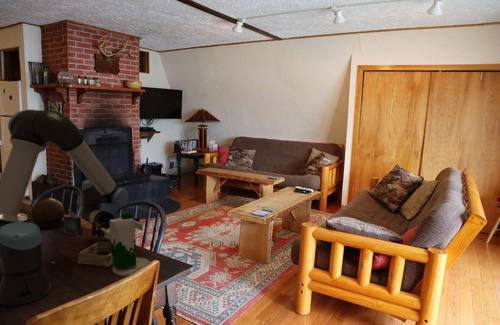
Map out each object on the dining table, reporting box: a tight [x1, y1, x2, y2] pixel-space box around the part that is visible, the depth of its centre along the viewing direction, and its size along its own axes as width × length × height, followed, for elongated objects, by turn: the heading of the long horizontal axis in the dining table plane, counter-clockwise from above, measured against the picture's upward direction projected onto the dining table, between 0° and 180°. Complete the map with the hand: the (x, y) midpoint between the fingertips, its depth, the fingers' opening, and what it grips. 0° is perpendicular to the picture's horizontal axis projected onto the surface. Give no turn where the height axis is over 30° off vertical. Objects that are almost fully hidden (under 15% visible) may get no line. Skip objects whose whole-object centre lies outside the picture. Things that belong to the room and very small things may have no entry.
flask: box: [63, 211, 83, 236], centre depth 174 cm, size 9×3×11 cm, turn 76°
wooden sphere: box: [30, 197, 65, 229], centre depth 183 cm, size 15×15×15 cm
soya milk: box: [109, 211, 137, 269], centre depth 137 cm, size 9×9×20 cm
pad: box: [112, 257, 151, 277], centre depth 139 cm, size 14×14×1 cm
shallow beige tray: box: [77, 241, 114, 268], centre depth 147 cm, size 13×13×4 cm
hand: (126, 231), depth 140 cm, fingers open, 13 cm apart
